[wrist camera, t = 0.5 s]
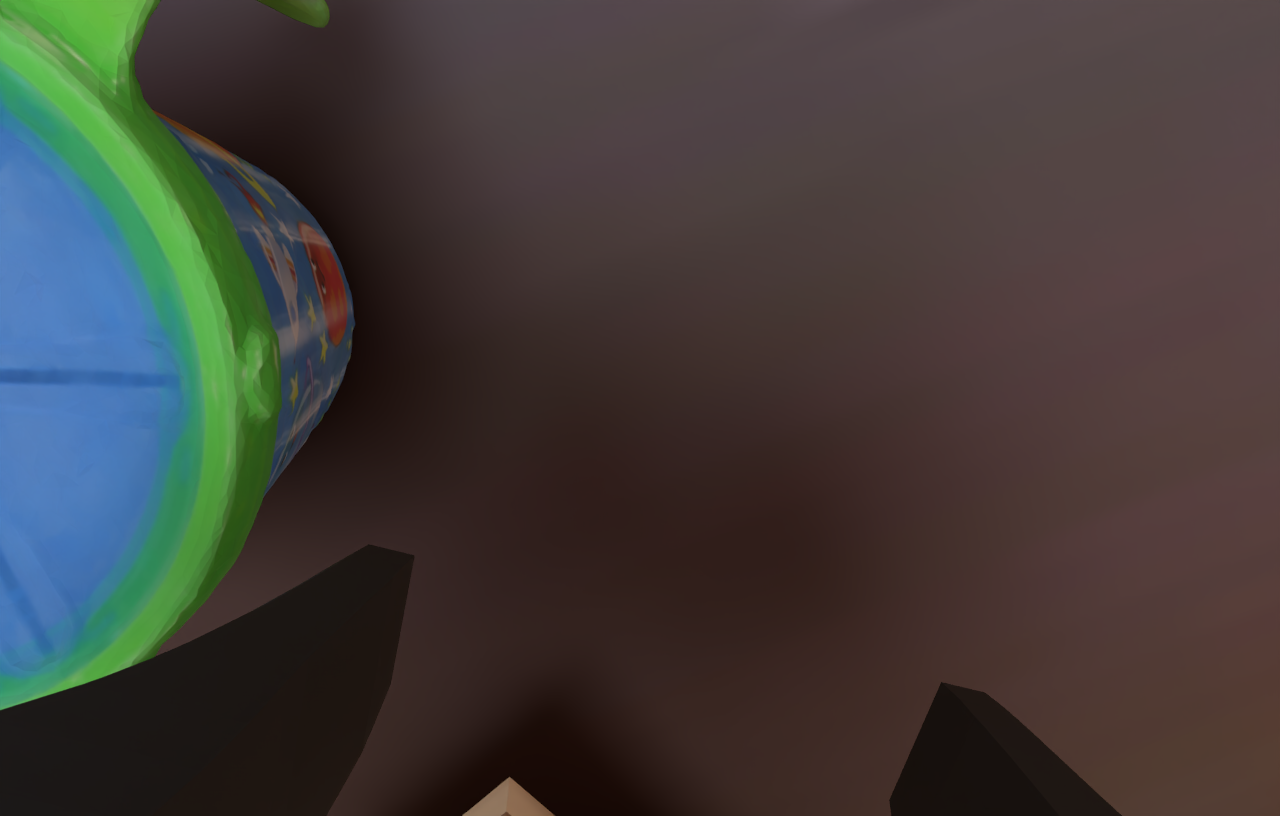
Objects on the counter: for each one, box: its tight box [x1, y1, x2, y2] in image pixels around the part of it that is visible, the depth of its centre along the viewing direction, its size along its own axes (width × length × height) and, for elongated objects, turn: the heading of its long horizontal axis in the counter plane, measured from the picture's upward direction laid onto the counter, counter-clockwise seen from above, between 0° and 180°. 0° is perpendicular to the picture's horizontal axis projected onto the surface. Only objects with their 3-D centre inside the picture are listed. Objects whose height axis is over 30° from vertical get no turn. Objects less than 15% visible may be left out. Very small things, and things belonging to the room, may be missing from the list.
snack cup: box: [0, 0, 355, 710], centre depth 16 cm, size 16×10×10 cm
